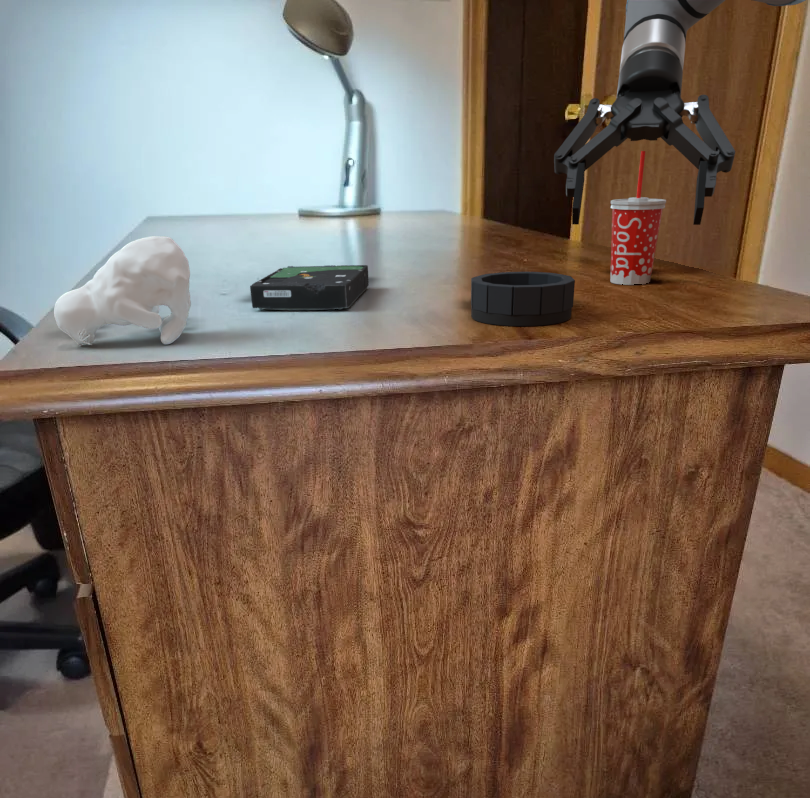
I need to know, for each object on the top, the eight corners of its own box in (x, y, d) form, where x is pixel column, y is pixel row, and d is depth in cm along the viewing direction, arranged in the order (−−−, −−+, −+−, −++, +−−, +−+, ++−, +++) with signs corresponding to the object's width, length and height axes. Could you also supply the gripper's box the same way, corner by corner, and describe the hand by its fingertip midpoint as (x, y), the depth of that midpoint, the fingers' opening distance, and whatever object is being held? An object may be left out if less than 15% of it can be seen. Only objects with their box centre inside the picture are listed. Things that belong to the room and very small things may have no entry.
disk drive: (350, 313, 81) (369, 287, 94) (348, 284, 80) (368, 262, 93) (251, 313, 82) (284, 288, 95) (248, 285, 81) (282, 263, 94)
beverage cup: (592, 281, 95) (603, 152, 89) (628, 276, 98) (641, 150, 91) (631, 287, 90) (645, 151, 84) (667, 282, 93) (684, 150, 87)
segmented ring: (592, 318, 75) (595, 280, 73) (508, 330, 71) (509, 290, 69) (531, 304, 82) (533, 268, 81) (452, 314, 78) (452, 277, 77)
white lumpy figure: (183, 235, 65) (30, 258, 62) (207, 339, 69) (64, 364, 66) (179, 229, 70) (39, 250, 68) (202, 325, 74) (69, 348, 72)
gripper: (753, 96, 97) (745, 239, 91) (548, 103, 103) (528, 237, 97) (767, 40, 90) (759, 191, 84) (546, 51, 96) (524, 193, 90)
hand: (635, 216), depth 90 cm, fingers open, 13 cm apart
